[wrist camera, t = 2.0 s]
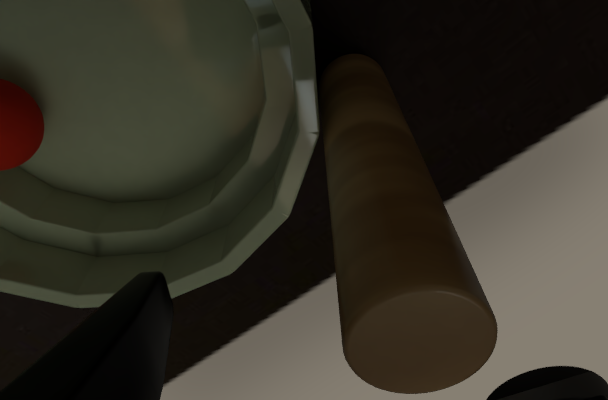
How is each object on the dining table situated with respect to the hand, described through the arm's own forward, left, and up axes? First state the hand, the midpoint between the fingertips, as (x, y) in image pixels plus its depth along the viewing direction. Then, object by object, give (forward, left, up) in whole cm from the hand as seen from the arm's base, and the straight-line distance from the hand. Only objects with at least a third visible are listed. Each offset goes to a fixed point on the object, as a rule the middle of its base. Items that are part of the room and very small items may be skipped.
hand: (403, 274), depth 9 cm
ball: (+5, +11, -8) cm, 14 cm away
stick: (0, 0, -10) cm, 10 cm away
